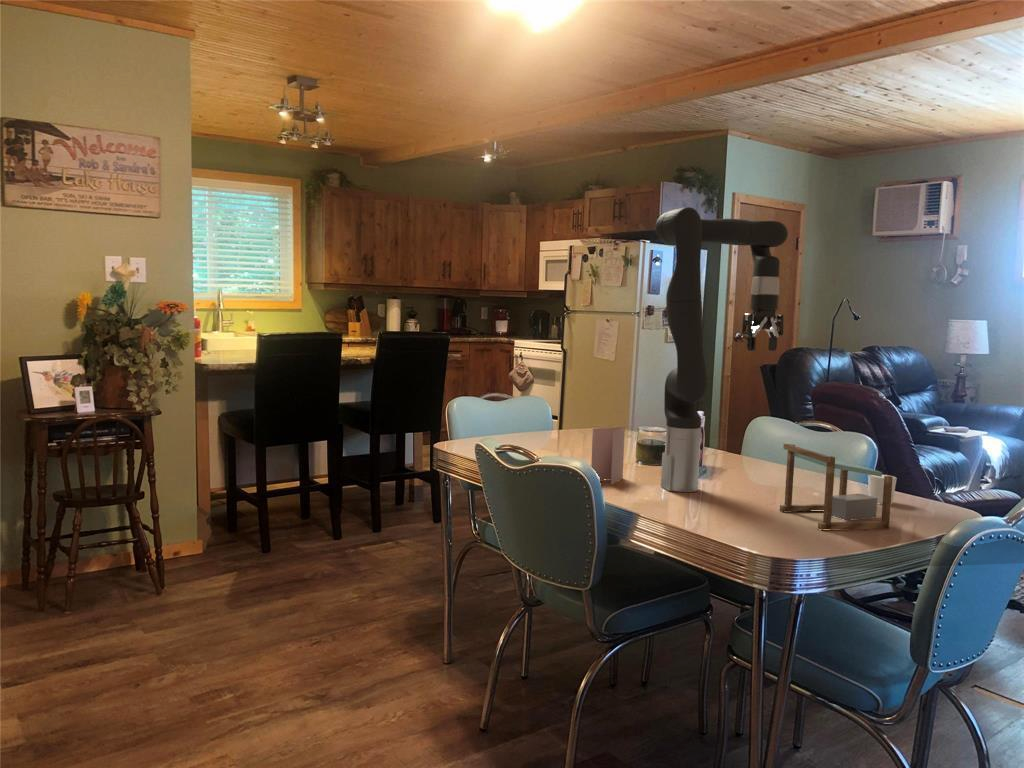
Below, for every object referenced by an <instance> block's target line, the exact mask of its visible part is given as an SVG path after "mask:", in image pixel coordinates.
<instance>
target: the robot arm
mask: <svg viewBox="0 0 1024 768" xmlns="http://www.w3.org/2000/svg"><path fill="white" fill-rule="evenodd" d="M654 229H655V234H656V236H657V238H658V239H659V240H660V242H662V243H663V244H665V245H668V246H675V249H676V250H675V254H676V255H675V256H676V258H675V260H676V261H675V265H674V270H673V272H672V276H671V278H670V281H669V284H668V287H667V290H666V294H665V295H666V297H665V303H666V304H665V305H666V306H665V307H666V320H667V323H668V328H669V331H670V333H671V337H672V339H673V342H674V345H675V349H676V360H677V361H676V364H677V367H675V368H673V369H671V371H670V372H669V373H668V374H667V376H666V378H665V381H664V382H665V383H664V399H663V400H664V401H663V402H664V404H663V405H664V411H663V412H664V416H665V419H666V423H665V424H666V427H665V447H664V448H665V450H664V451H663V452H662V453H661V456H662V457H661V472H660V473H661V476H660V487H661V488H663V489H665V490H667V491H668V492H678V493H693V492H697V491H698V490H699V474H700V454H701V453H700V452H701V436H702V435H701V434H702V417H701V415H700V414H699V412H698V409H697V403H698V402H701V400H703V398H704V397H705V395H706V394H707V391H708V384H709V383H708V374H707V369H706V362H705V361H706V360H705V356H704V353H705V352H704V338H703V337H704V334H703V330H704V329H703V305H702V304H703V303H702V288H701V287H702V284H701V280H702V279H701V273H702V272H701V256H702V254H701V253H702V243H708V244H709V243H711V244H720V245H721V244H723V245H730V246H731V245H732V246H743V247H744V246H750V247H749V248H750V252H751V257H752V261H753V271H752V272H753V273H752V282H751V287H750V288H751V291H750V305H749V306H750V310H751V311H752V313H749V312H748V313H747V312H746V313H744V314H743V315H742V327H741V334H742V335H745V336H746V339H747V340H746V342H747V343H746V349H747V351H752V352H753V351H756V341H757V340H756V339H757V338H756V336H757V334H758V333H759V332H760V331H761V330H764V331H766V332H767V334H768V336H769V337H768V347H767V349H768V351H771V352H774V351H775V352H776V350H777V348H778V347H777V346H778V344H777V343H778V338H779V337H781V336H783V335H784V314H776V311H778V310H779V299H780V264H781V262H780V259H779V258H778V257H777V256H775V255H772V254H771V249H770V248H776V247H780V246H782V245H783V244H784V243H785V242H786V241H787V238H788V233H789V232H788V229H787V226H786V225H785V224H783V223H782V222H780V221H777V220H748V219H738V218H711V219H709V218H708V219H707V218H706V219H704V218H701V216H700V214H699V212H698V211H697V210H696V209H695V208H693V207H692V206H691V207H690V206H686V207H680V208H676V209H671V210H668V211H666V212H664V213H662V214H661V215H660V216H659V217H658V218H657V220H656V223H655V228H654Z"/></svg>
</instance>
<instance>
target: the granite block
mask: <svg viewBox="0 0 1024 768" xmlns="http://www.w3.org/2000/svg"><path fill="white" fill-rule="evenodd" d="M877 499H878V498H876V497H872V496H869V494H868V495H867V494H864V493H860V492H859V493H851V494H846V495H839V494H838V495H837V494H836V495H833V501H832V516H835V517H838V518H841V519H844V520H849V521H852V520H851V519H859V520H864V519H863V518H869V519H873V518H872V517H876V518H877V510H878V504H877ZM838 518H837V519H838ZM841 519H840V520H841ZM844 520H843V521H844Z"/></svg>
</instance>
